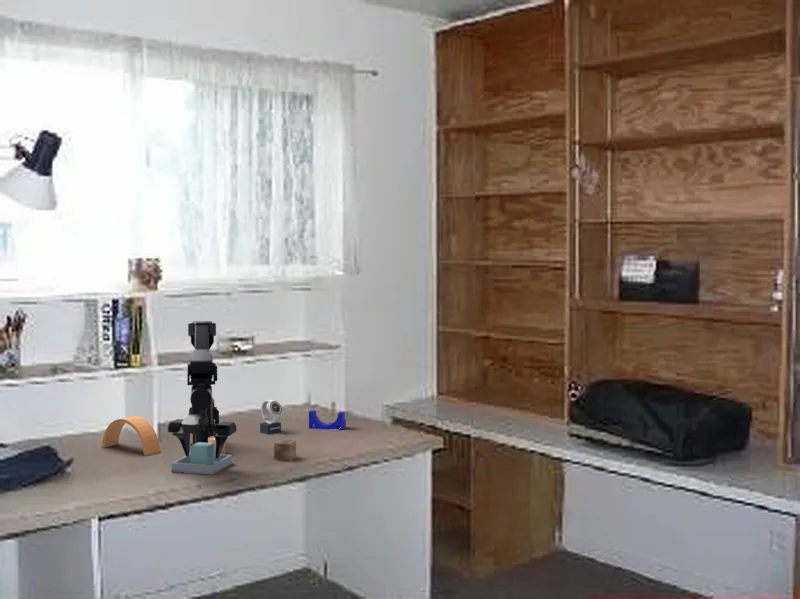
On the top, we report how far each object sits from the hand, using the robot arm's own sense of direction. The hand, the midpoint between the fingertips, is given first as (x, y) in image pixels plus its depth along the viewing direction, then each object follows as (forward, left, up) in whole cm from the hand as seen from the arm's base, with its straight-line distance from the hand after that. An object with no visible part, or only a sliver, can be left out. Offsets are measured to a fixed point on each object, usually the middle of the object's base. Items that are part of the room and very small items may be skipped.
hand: (202, 457), depth 248 cm
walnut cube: (+19, +16, -3) cm, 25 cm away
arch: (-31, +15, -3) cm, 35 cm away
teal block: (0, 0, -2) cm, 2 cm away
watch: (+2, +48, -3) cm, 48 cm away
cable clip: (+19, +59, -3) cm, 62 cm away
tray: (0, 0, -3) cm, 3 cm away
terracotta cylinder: (-3, +16, -3) cm, 17 cm away
